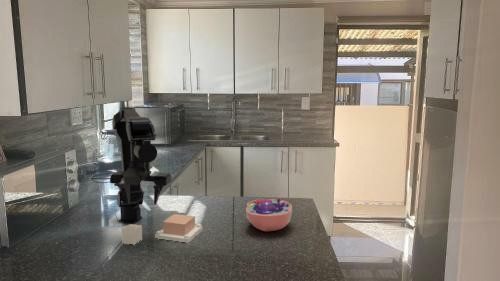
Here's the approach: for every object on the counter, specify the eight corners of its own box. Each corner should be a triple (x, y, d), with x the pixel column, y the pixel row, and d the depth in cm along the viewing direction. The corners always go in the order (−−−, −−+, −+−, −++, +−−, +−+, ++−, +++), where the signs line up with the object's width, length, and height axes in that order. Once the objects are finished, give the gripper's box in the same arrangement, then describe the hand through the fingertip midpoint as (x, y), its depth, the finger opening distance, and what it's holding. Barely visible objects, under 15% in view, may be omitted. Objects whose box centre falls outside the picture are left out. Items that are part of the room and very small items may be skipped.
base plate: (155, 238, 124) (154, 223, 123) (172, 226, 135) (171, 211, 134) (187, 243, 120) (187, 227, 120) (202, 229, 132) (202, 215, 131)
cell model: (299, 222, 140) (300, 193, 138) (281, 242, 122) (281, 209, 120) (258, 215, 147) (258, 188, 145) (235, 233, 129) (235, 202, 127)
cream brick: (122, 243, 120) (121, 228, 119) (130, 238, 124) (129, 224, 124) (134, 245, 119) (133, 230, 118) (142, 239, 123) (141, 225, 122)
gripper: (100, 161, 112) (102, 210, 115) (159, 163, 110) (160, 213, 113) (117, 154, 123) (118, 199, 126) (171, 156, 121) (172, 202, 124)
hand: (141, 203), depth 121 cm, fingers open, 9 cm apart
